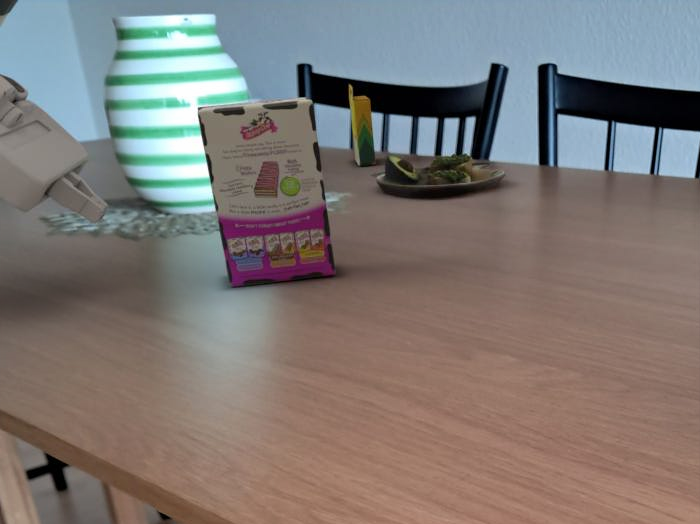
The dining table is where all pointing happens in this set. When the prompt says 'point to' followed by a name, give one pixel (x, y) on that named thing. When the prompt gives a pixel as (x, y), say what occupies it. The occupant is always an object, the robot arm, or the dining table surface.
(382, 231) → the dining table surface
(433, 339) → the dining table surface
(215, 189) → the candy bar box
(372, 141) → the crayon box
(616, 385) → the dining table surface
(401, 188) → the salad plate
